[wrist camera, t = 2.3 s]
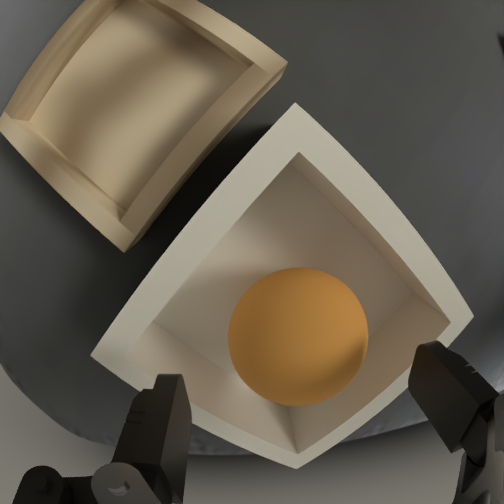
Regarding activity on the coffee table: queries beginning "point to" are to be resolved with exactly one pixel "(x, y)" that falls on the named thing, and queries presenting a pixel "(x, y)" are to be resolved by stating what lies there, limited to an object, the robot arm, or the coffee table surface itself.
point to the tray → (134, 105)
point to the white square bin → (274, 259)
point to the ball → (297, 336)
